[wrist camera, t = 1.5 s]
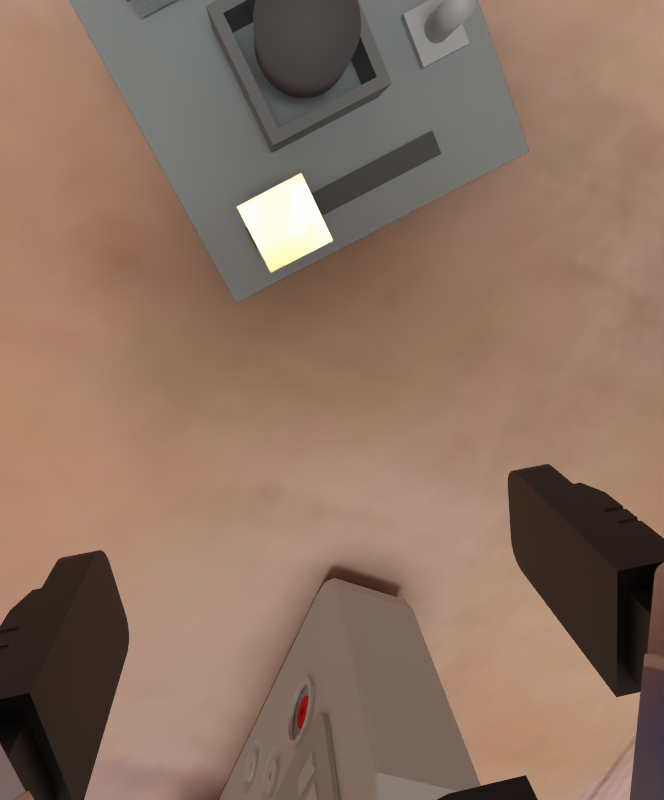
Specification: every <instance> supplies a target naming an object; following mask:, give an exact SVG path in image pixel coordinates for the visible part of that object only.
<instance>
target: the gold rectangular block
mask: <svg viewBox="0 0 664 800" xmlns="http://www.w3.org/2000/svg"><path fill="white" fill-rule="evenodd" d="M237 208H238V210H239V212H240V214H241V216H242V218H243V220H244V222H245V224H246V226H247V228H248V229H249V231H250V233H251V235H252V237H253V239H254V241H255V243H256V245H257V247H258V249H259V251H260V253H261V255H262V256H263V258H264V260H265V262H266V264H267V266H268V268H269V270H270V272H271V273H272V272H273V271H275V270H277V269H279V268H281V267H283V266H285V265H287V264H289V263H291V262H293V261H295V260H297V259H299V258H300V257H302V256H304V255H306V254H308V253H310V252H312V251H314V250H316V249H318V248H320V247H322V246H324V245H326V244H328V243H329V242H331V241H333V239H332V237H331V235H330V233H329V231H328V229H327V226H326V224H325V222H324V220H323V218H322V216H321V214H320V212H319V209H318V207H317V205H316V203H315V201H314V199H313V197H312V195H311V193H310V190H309V188H308V186H307V184H306V182H305V180H304V178H303V176H302V174H301V173H300V174H298V175H296V176H295V177H293V178H291V179H289V180H287V181H285V182H283V183H281V184H279V185H277V186H275V187H274V188H272V189H270V190H268V191H266V192H264V193H262V194H260V195H258V196H256V197H254V198H252V199H251V200H249V201H247V202H245V203H243V204H241V205H239V206H237Z"/></svg>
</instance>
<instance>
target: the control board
mask: <svg viewBox="0 0 664 800" xmlns="http://www.w3.org/2000/svg"><path fill="white" fill-rule="evenodd" d="M357 1H358V4H359V9H360V15H361V32H360V38H359V42H358V45H357V48H356V51H355V53H354V55H353V56H352V58H351V60H350V62H349V64H348V65H347V67H346V69H345V71H344V72H343V74H342V76H341V77H340V79H339V80H338V82H337V83H336V84H335V85H334V86H333V87H332V88H330V89H329V90H328V91H326V92H325V93H323V94H320V95H318V96H315V97H310V98H298V97H293V96H290V95H287V94H285V93H283V92H281V91H280V90H278V89H277V88H275V87H274V86H273V85H272V84H271V83H270V82H269V81H268V80H267V78H266V77H265V76H264V74H263V72H262V71H261V69H260V67H259V64H258V62H257V58H256V55H255V48H254V25H253V12H254V5H255V0H175V1H173V2H171V3H169V4H167V5H165V6H164V7H162V8H160V9H158V10H156V11H154V12H152V13H150V14H149V15H147V16H145V17H143V18H142V17H141V15H140V14H139V12H138V10H137V9H136V7H135V5H134V3H133V2H132V0H70V2H71V4H72V6H73V8H74V10H75V11H76V13H77V15H78V17H79V19H80V20H81V22H82V24H83V26H84V28H85V30H86V31H87V33H88V35H89V37H90V39H91V41H92V42H93V44H94V46H95V48H96V50H97V51H98V53H99V55H100V57H101V59H102V61H103V62H104V64H105V66H106V68H107V70H108V71H109V73H110V75H111V77H112V79H113V81H114V82H115V84H116V86H117V88H118V90H119V91H120V93H121V95H122V97H123V99H124V101H125V102H126V104H127V106H128V108H129V110H130V112H131V113H132V115H133V117H134V119H135V121H136V122H137V124H138V126H139V128H140V130H141V132H142V133H143V135H144V137H145V139H146V141H147V142H148V144H149V146H150V148H151V150H152V152H153V153H154V155H155V157H156V159H157V161H158V162H159V164H160V166H161V168H162V170H163V172H164V173H165V175H166V177H167V179H168V181H169V183H170V184H171V186H172V188H173V190H174V192H175V193H176V195H177V197H178V199H179V201H180V203H181V204H182V206H183V208H184V210H185V212H186V213H187V215H188V217H189V219H190V221H191V223H192V224H193V226H194V228H195V230H196V232H197V233H198V235H199V237H200V239H201V241H202V243H203V244H204V246H205V248H206V250H207V252H208V254H209V255H210V257H211V259H212V261H213V263H214V264H215V266H216V268H217V270H218V272H219V274H220V275H221V277H222V279H223V281H224V283H225V284H226V286H227V288H228V290H229V292H230V294H231V295H232V297H233V299H234V301H235V303H237V302H239V301H241V300H243V299H245V298H247V297H249V296H251V295H253V294H255V293H257V292H258V291H260V290H262V289H264V288H266V287H268V286H270V285H272V284H274V283H276V282H278V281H280V280H282V279H284V278H286V277H287V276H289V275H291V274H293V273H295V272H297V271H299V270H301V269H303V268H305V267H307V266H309V265H311V264H313V263H315V262H316V261H318V260H320V259H322V258H324V257H326V256H328V255H330V254H332V253H334V252H336V251H338V250H340V249H342V248H344V247H345V246H347V245H349V244H351V243H353V242H355V241H357V240H359V239H361V238H363V237H365V236H367V235H369V234H371V233H373V232H374V231H376V230H378V229H380V228H382V227H384V226H386V225H388V224H390V223H392V222H394V221H396V220H398V219H400V218H402V217H403V216H405V215H407V214H409V213H411V212H413V211H415V210H417V209H419V208H421V207H423V206H425V205H427V204H429V203H431V202H432V201H434V200H436V199H438V198H440V197H442V196H444V195H446V194H448V193H450V192H452V191H454V190H456V189H458V188H460V187H461V186H463V185H465V184H467V183H469V182H471V181H473V180H475V179H477V178H479V177H481V176H483V175H485V174H487V173H489V172H490V171H492V170H494V169H496V168H498V167H500V166H502V165H504V164H506V163H508V162H510V161H512V160H514V159H516V158H518V157H519V156H521V155H523V154H525V153H527V152H529V149H528V146H527V143H526V140H525V137H524V134H523V131H522V128H521V125H520V123H519V120H518V117H517V114H516V111H515V108H514V105H513V102H512V99H511V96H510V93H509V90H508V87H507V84H506V81H505V79H504V76H503V73H502V70H501V67H500V64H499V61H498V58H497V55H496V52H495V49H494V46H493V43H492V40H491V37H490V35H489V32H488V29H487V26H486V23H485V20H484V17H483V14H482V11H481V8H480V5H479V2H478V0H357ZM300 173H301V174H302V176H303V178H304V180H305V182H306V184H307V186H308V188H309V190H310V193H311V195H312V197H313V199H314V201H315V203H316V205H317V207H318V209H319V212H320V214H321V216H322V218H323V220H324V222H325V224H326V226H327V229H328V231H329V233H330V235H331V237H332V239H333V241H331V242H329V243H328V244H326V245H324V246H322V247H320V248H318V249H316V250H314V251H312V252H310V253H308V254H306V255H304V256H302V257H300V258H299V259H297V260H295V261H293V262H291V263H289V264H287V265H285V266H283V267H281V268H279V269H277V270H275V271H273V272H272V273H271V272H270V270H269V268H268V266H267V264H266V262H265V260H264V258H263V256H262V255H261V253H260V251H259V249H258V247H257V245H256V243H255V241H254V239H253V237H252V235H251V233H250V231H249V229H248V228H247V226H246V224H245V222H244V220H243V218H242V216H241V214H240V212H239V210H238V208H237V206H239V205H241V204H243V203H245V202H247V201H249V200H251V199H252V198H254V197H256V196H258V195H260V194H262V193H264V192H266V191H268V190H270V189H272V188H274V187H275V186H277V185H279V184H281V183H283V182H285V181H287V180H289V179H291V178H293V177H295V176H296V175H298V174H300Z"/></svg>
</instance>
